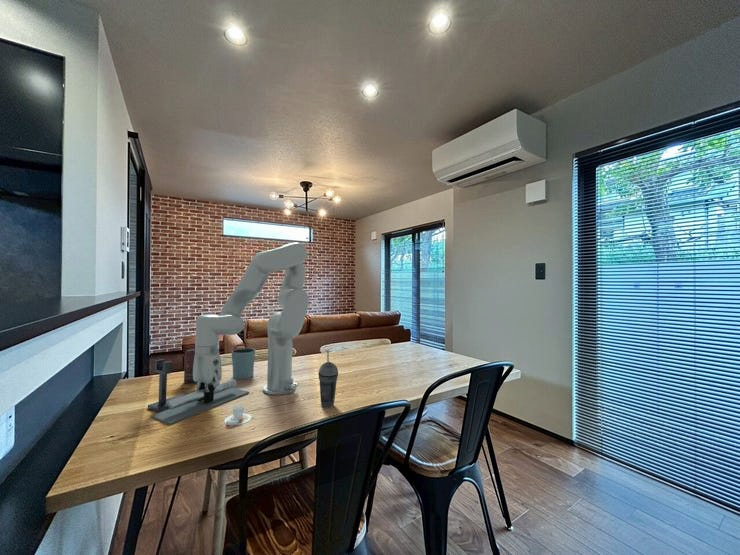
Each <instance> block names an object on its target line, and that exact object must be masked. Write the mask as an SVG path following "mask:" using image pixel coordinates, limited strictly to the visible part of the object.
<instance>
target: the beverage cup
mask: <svg viewBox="0 0 740 555" xmlns="http://www.w3.org/2000/svg"><path fill="white" fill-rule="evenodd" d="M326 352H327V353H326V356H327V357H326V358H327V360H326V362H324V363H323V364H321V366H320V368H319V369H318V373H317V374H318V380H319V392H320V393H319V394H320V405H321V406H320V407H321V408H322V409H331V407H332V408H334V406H335V400H336V399H335V398H336V391H337V390H336V389H337V382H338V376H339V369H338V367H337V365H336V364H335V363H333V362H332V361H331V362H330V357H329V356H330V354H329V353H330V352H329V349H327V350H326Z"/></svg>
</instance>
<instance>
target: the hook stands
mask: <svg viewBox="0 0 740 555" xmlns="http://www.w3.org/2000/svg"><path fill="white" fill-rule="evenodd" d="M154 372H155V373H157V374H159V376H158V381H159V382H158V401H156V402H154V403H153V402H152V403H150V404H147V409H148V410H149V411H150V410H151V411H153V412H155V413H160V412H163V411H166V410H168V409H169V407H168V401H169V400H172V399H175V398H178V397H181V396H184V395H187V394H190V393H193V392H196V391H198V390H197V388H196V389H192V390H190V391H187V392H184V393H181V394H178V395H175V396H171V397H169V398H167V387H168V385H167V383H168V375H169V374H172V373H173V361H172V360H169V361H165V359H164V358H161V359H156V360H154ZM211 385H212V384H210V385H209V387H210V386H211ZM205 388H206V387H205Z"/></svg>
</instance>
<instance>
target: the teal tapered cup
mask: <svg viewBox="0 0 740 555" xmlns="http://www.w3.org/2000/svg"><path fill="white" fill-rule="evenodd" d="M255 355H256V349H255V348H249V347H245V348H243V347H242V348H236V349H233V350H231V360H232V377H233V379H235V380H247V379H251V378H253V377H254V371H255V370H254V365H255V358H256V356H255Z"/></svg>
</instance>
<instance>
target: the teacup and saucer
mask: <svg viewBox="0 0 740 555" xmlns="http://www.w3.org/2000/svg"><path fill="white" fill-rule="evenodd" d="M244 410H245V406H243V405H236V406H234V407H233V408H232V414H231V415H229V416H227V417H226V418H225V419H224V424H226V425H227V426H239V425H243V424H246V423H248V422H249V421H251V419H252V415H251V414H249V413H244ZM243 417H247V419H246V420H244V421H243V422H240V421H241V420H242V419H243Z"/></svg>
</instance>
